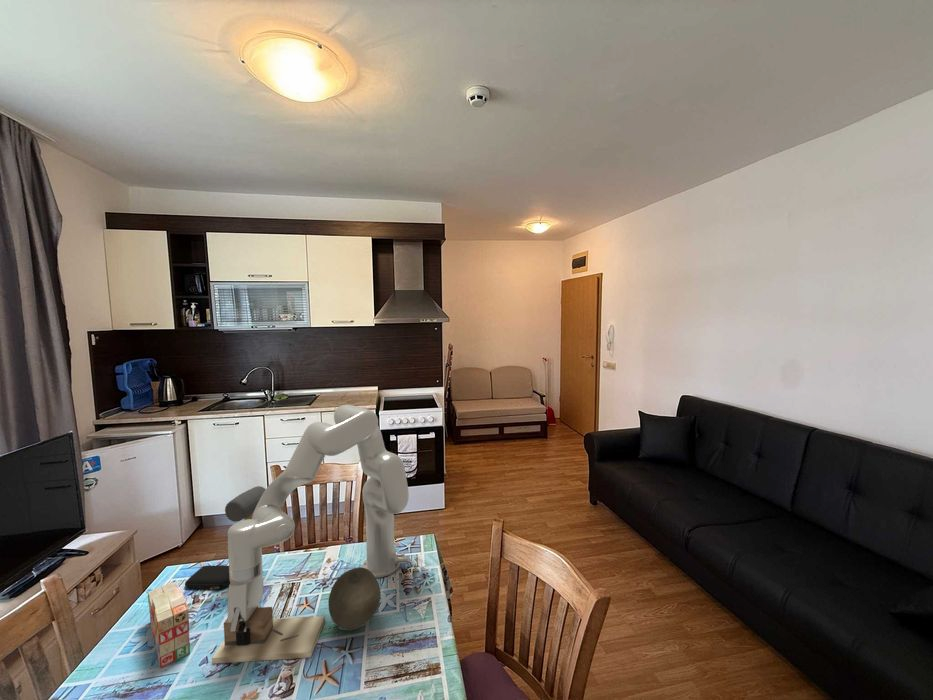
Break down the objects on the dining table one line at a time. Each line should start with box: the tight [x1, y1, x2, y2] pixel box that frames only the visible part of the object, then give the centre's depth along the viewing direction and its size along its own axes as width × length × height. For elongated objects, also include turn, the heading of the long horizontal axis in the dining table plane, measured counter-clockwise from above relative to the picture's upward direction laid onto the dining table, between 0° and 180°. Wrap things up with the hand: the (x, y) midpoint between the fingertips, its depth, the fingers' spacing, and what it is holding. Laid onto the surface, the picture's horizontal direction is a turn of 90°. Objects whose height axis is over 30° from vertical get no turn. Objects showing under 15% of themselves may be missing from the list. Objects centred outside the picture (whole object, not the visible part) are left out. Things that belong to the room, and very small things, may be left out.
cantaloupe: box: [328, 566, 382, 631], centre depth 107 cm, size 14×14×15 cm
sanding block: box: [223, 606, 274, 645], centre depth 101 cm, size 10×5×6 cm, turn 94°
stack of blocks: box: [147, 581, 191, 669], centre depth 103 cm, size 21×6×12 cm, turn 45°
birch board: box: [211, 615, 326, 665], centre depth 102 cm, size 24×12×2 cm, turn 94°
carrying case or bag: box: [184, 565, 231, 591], centre depth 126 cm, size 11×3×15 cm
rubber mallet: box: [224, 485, 266, 523], centre depth 126 cm, size 12×8×30 cm, turn 170°
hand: (249, 634), depth 101 cm, fingers closed on sanding block, 5 cm apart
